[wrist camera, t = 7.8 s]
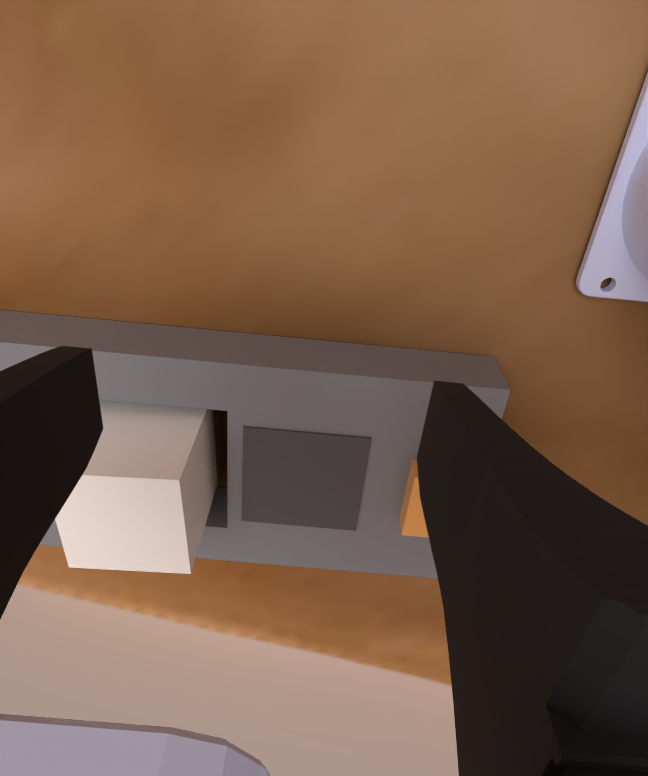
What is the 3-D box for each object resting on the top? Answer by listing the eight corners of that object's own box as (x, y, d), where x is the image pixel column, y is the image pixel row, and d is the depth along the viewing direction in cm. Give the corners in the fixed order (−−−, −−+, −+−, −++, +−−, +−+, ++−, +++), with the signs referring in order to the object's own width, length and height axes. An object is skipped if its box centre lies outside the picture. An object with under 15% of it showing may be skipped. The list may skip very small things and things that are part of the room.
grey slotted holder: (494, 356, 22) (518, 405, 19) (442, 537, 27) (455, 598, 24) (-22, 307, 21) (-82, 349, 18) (27, 501, 26) (-13, 558, 23)
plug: (217, 382, 23) (180, 478, 17) (223, 467, 25) (192, 574, 20) (108, 377, 23) (39, 471, 18) (124, 462, 25) (67, 568, 20)
